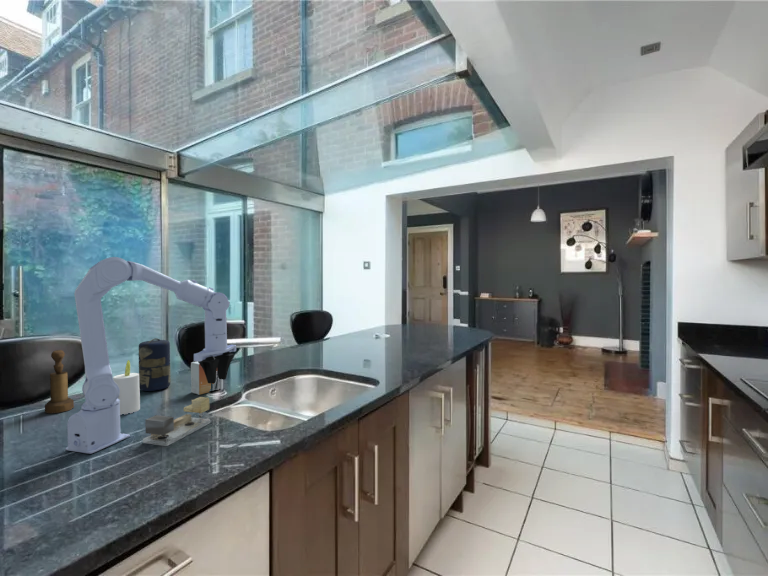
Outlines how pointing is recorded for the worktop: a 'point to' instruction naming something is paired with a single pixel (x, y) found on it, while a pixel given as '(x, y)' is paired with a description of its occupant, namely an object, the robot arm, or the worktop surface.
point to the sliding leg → (198, 406)
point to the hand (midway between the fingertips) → (217, 381)
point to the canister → (154, 365)
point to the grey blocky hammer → (163, 424)
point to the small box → (199, 379)
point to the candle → (128, 391)
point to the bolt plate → (177, 432)
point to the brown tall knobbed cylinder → (58, 387)
